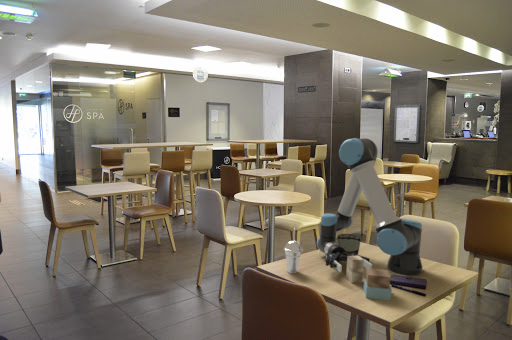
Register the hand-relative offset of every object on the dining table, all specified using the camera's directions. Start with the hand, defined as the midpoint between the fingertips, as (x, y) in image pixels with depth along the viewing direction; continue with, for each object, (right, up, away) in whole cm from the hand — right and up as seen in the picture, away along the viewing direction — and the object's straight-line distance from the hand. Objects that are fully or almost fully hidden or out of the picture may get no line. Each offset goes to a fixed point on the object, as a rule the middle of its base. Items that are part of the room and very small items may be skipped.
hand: (356, 268), depth 166 cm
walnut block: (+5, -3, -11) cm, 13 cm away
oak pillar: (0, -6, +2) cm, 6 cm away
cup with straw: (-25, -4, +11) cm, 28 cm away
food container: (+5, -2, +38) cm, 38 cm away
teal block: (+5, -8, -11) cm, 14 cm away
